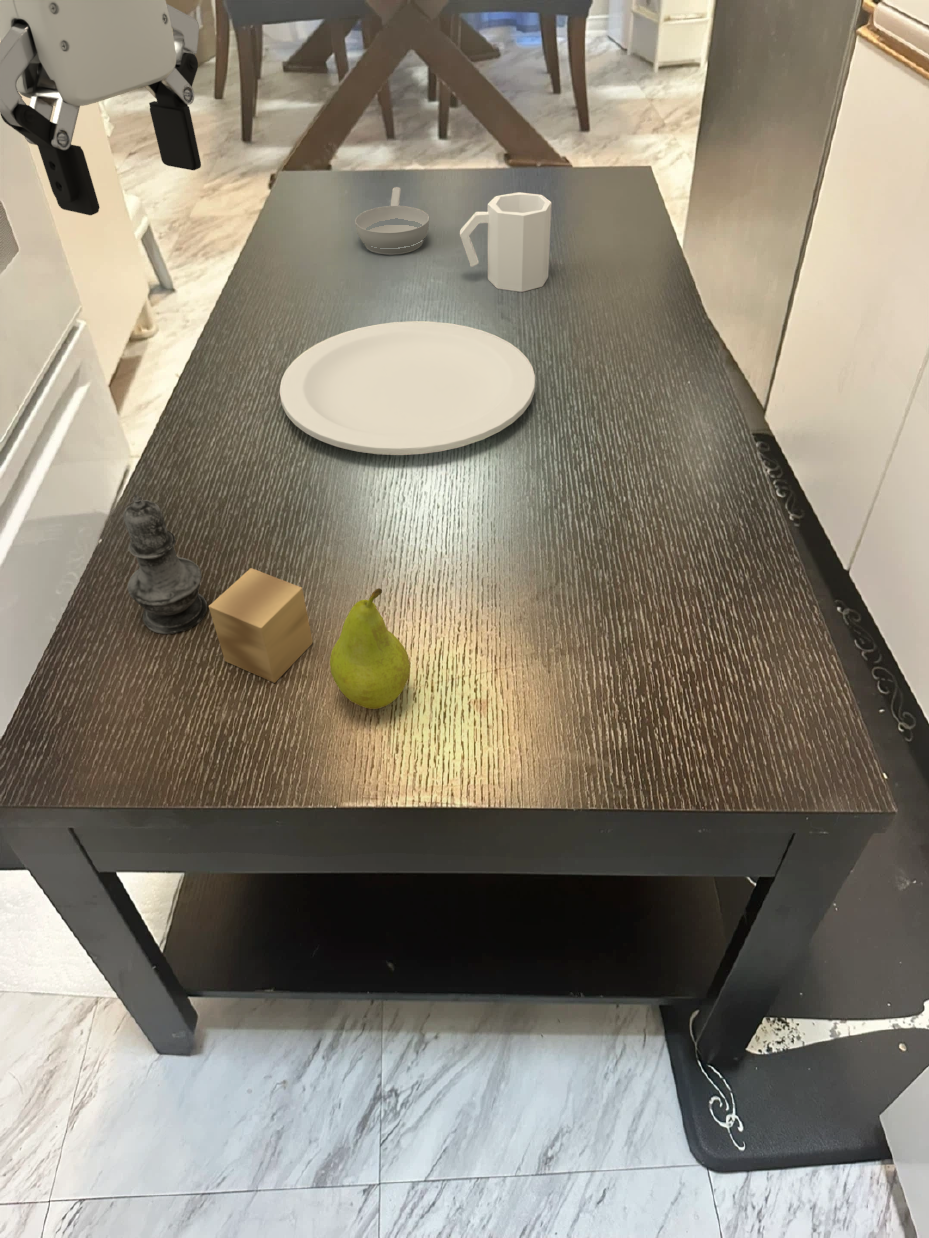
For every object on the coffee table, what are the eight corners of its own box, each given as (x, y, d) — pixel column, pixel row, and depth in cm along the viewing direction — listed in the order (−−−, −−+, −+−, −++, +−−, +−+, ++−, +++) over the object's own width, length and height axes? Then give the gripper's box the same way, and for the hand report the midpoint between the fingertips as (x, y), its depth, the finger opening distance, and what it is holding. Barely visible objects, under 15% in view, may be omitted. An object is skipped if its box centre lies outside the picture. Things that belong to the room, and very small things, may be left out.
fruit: (343, 666, 69) (323, 547, 61) (417, 671, 69) (407, 551, 61) (328, 723, 65) (304, 604, 57) (406, 728, 65) (394, 609, 56)
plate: (417, 318, 113) (416, 300, 112) (586, 395, 99) (588, 376, 97) (233, 399, 99) (228, 380, 98) (397, 503, 85) (395, 482, 83)
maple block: (224, 661, 70) (208, 606, 66) (264, 622, 73) (250, 567, 69) (274, 683, 68) (260, 628, 64) (313, 642, 71) (302, 587, 67)
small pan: (354, 258, 128) (351, 231, 125) (364, 213, 141) (362, 187, 138) (429, 257, 127) (427, 229, 125) (432, 212, 140) (431, 186, 138)
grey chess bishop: (170, 647, 71) (127, 529, 63) (124, 617, 74) (78, 500, 66) (225, 606, 75) (192, 489, 66) (180, 579, 77) (142, 463, 69)
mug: (545, 265, 124) (548, 191, 118) (551, 291, 118) (554, 215, 111) (460, 267, 124) (458, 194, 118) (461, 293, 118) (459, 217, 111)
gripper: (112, -152, 56) (179, 146, 67) (-139, -129, 45) (-7, 221, 57) (204, -151, 53) (256, 159, 65) (-40, -126, 42) (77, 241, 54)
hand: (133, 188), depth 61 cm, fingers open, 9 cm apart
